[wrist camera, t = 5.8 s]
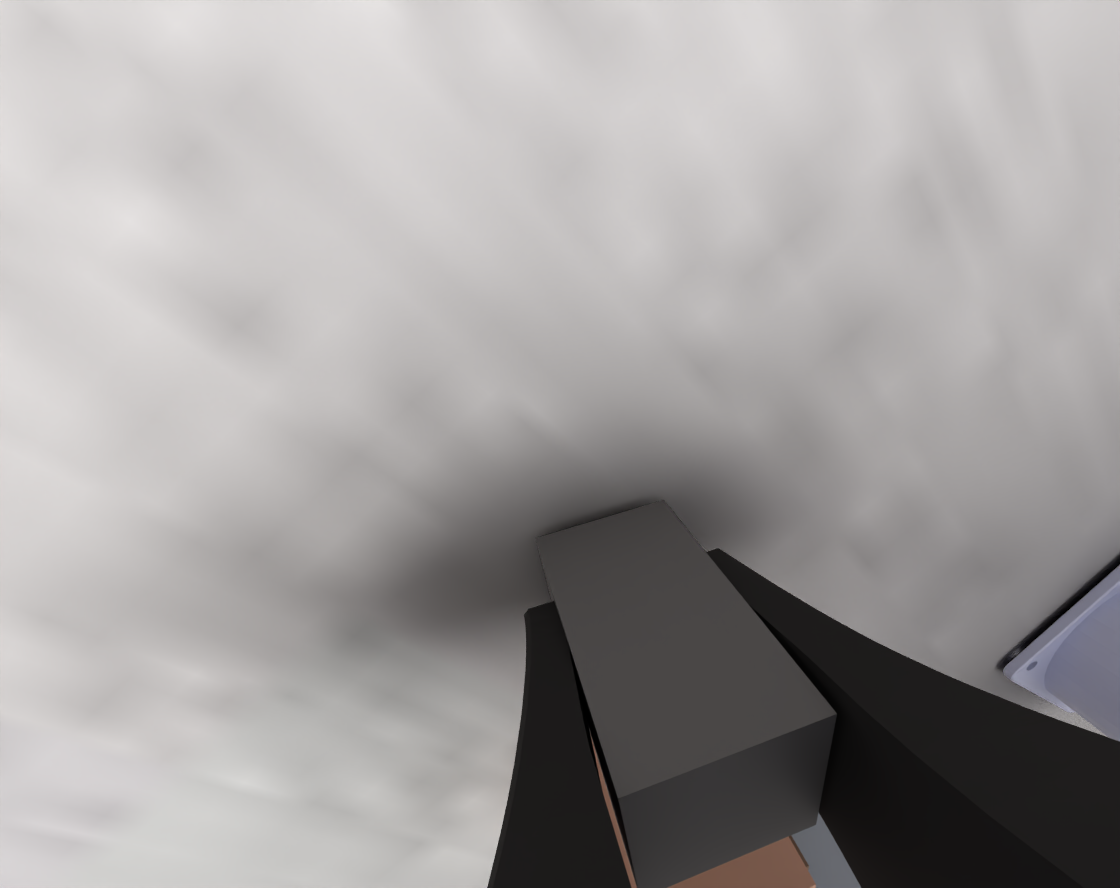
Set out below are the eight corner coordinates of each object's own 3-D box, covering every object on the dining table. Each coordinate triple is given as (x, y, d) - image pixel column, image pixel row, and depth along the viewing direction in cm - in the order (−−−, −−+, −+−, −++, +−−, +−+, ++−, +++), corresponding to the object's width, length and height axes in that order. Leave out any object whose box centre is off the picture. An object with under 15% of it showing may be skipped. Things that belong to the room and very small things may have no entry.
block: (867, 760, 21) (985, 906, 16) (854, 816, 23) (954, 957, 18) (766, 802, 20) (860, 965, 16) (763, 855, 22) (844, 1010, 18)
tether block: (697, 489, 11) (893, 691, 6) (708, 772, 17) (813, 984, 13) (497, 549, 11) (550, 825, 6) (582, 821, 17) (641, 1064, 12)
